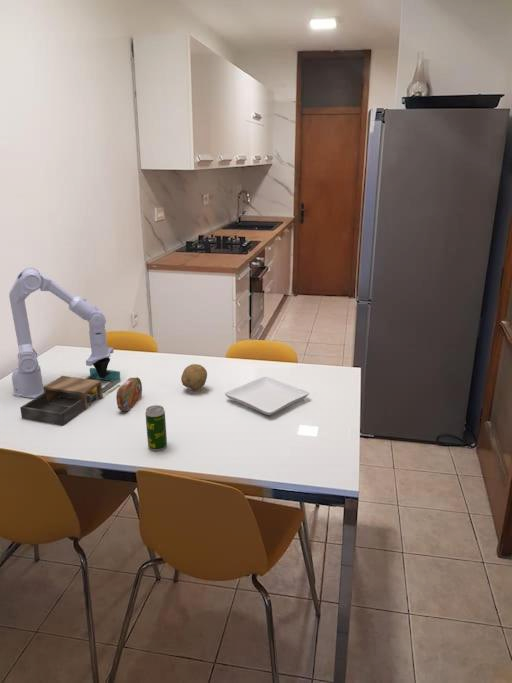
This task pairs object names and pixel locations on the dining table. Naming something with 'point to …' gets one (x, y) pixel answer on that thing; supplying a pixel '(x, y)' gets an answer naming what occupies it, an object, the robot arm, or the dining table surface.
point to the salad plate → (266, 395)
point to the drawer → (110, 376)
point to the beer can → (156, 428)
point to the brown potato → (194, 377)
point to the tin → (129, 394)
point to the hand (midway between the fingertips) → (102, 377)
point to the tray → (55, 413)
